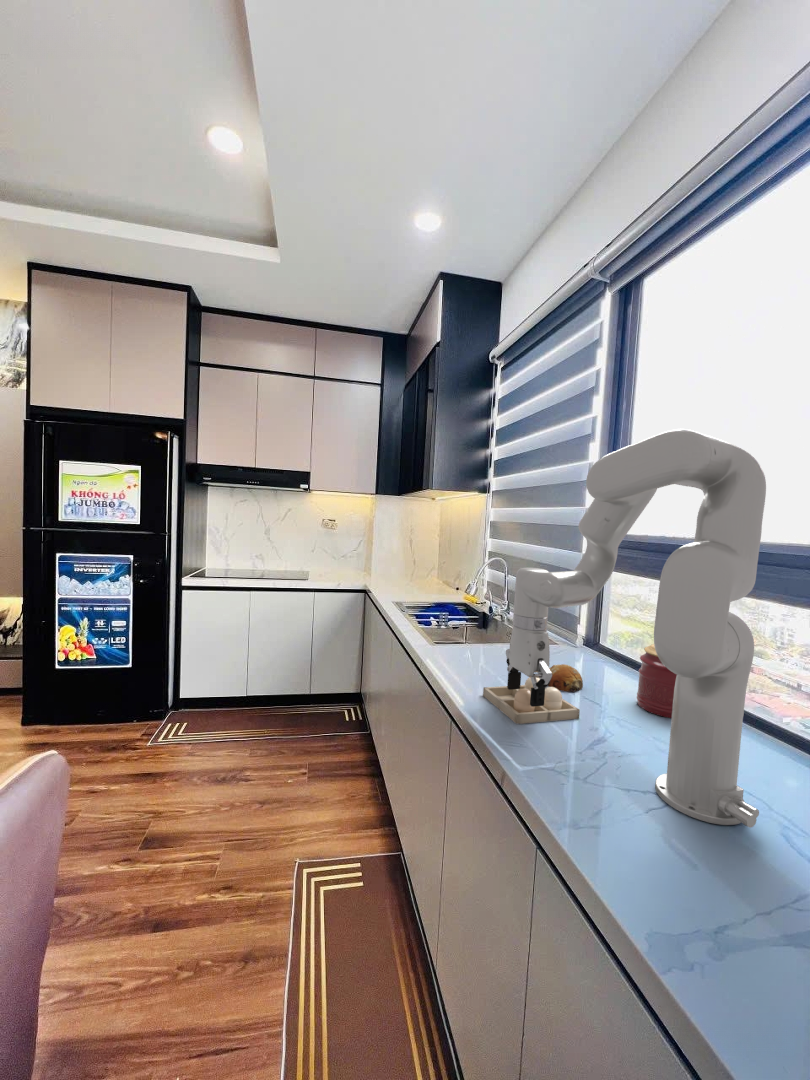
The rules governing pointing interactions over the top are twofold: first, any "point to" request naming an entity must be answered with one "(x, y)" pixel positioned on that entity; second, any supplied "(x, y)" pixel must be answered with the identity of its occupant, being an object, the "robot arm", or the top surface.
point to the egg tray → (505, 703)
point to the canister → (655, 684)
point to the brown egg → (523, 701)
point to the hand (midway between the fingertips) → (524, 696)
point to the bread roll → (565, 678)
